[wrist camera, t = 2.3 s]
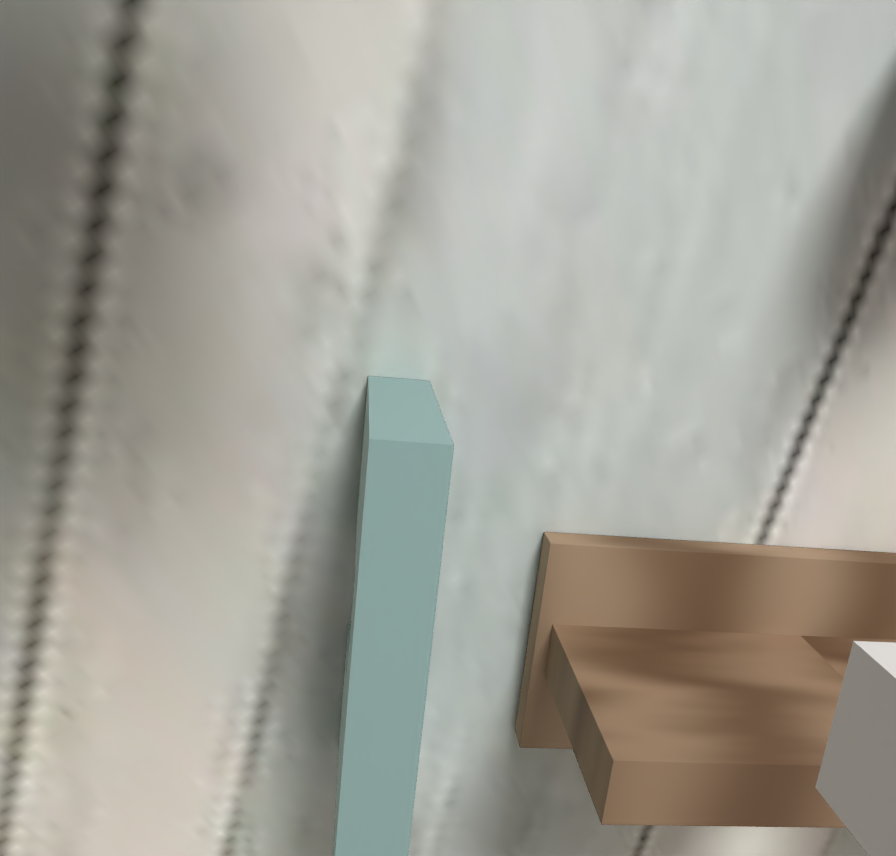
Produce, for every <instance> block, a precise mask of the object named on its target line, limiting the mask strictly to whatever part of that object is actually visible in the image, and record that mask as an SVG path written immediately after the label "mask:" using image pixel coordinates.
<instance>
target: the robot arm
mask: <svg viewBox="0 0 896 856" xmlns="http://www.w3.org/2000/svg"><path fill="white" fill-rule="evenodd" d="M815 788H816V789H817V790H818V791H819V793H820V794H821V795H822V797H823V798H824V799H825V800H826V802H827V803H828V804H829V806H830V807H831V808H832V810H833V811H834V812H835V813H836V815H837V816H838V817H839V819H840V820H841V821H842V822H843V824H844V825H845V826H846V828H847V829H848V830H849V831H850V833H851V834H852V835H853V837H854V838H855V839H856V840H857V842H858V843H859V844H860V846H861V847H862V848H863V849H864V851H865V852H866V853H867V855H868V856H896V643H893V642H867V641H853V644H852V648H851V652H850V656H849V660H848V664H847V668H846V671H845V675H844V679H843V683H842V687H841V691H840V695H839V698H838V702H837V706H836V710H835V714H834V718H833V721H832V725H831V729H830V733H829V737H828V741H827V745H826V748H825V752H824V756H823V760H822V764H821V768H820V772H819V775H818V779H817V783H816V787H815Z"/></svg>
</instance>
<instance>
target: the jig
mask: <svg viewBox="0 0 896 856" xmlns="http://www.w3.org/2000/svg"><path fill="white" fill-rule="evenodd" d="M853 641H867V642H893V643H896V553H886V552H869V551H853V550H836V549H819V548H803V547H786V546H770V545H753V544H736V543H720V542H703V541H687V540H670V539H653V538H637V537H620V536H604V535H587V534H570V533H554V532H544V536H543V543H542V549H541V556H540V563H539V570H538V577H537V583H536V590H535V597H534V604H533V610H532V617H531V624H530V631H529V638H528V644H527V651H526V658H525V665H524V672H523V678H522V685H521V692H520V699H519V705H518V712H517V719H516V726H515V732H516V735H517V739H518V742H519V746H520V747H524V748H563V749H573V751H574V753H575V756H576V759H577V761H578V764H579V767H580V769H581V772H582V774H583V777H584V780H585V782H586V785H587V788H588V790H589V793H590V795H591V798H592V801H593V803H594V806H595V809H596V811H597V814H598V816H599V819H600V822H601V824H604V825H680V826H756V827H832V828H846V826H845V825H844V824H843V822H842V821H841V820H840V819H839V817H838V816H837V815H836V813H835V812H834V811H833V810H832V808H831V807H830V806H829V804H828V803H827V802H826V800H825V799H824V798H823V797H822V795H821V794H820V793H819V791H818V790H817V789H816V788H815V787H816V783H817V779H818V775H819V772H820V768H821V764H822V760H823V756H824V752H825V748H826V745H827V741H828V737H829V733H830V729H831V725H832V721H833V718H834V714H835V710H836V706H837V702H838V698H839V695H840V691H841V687H842V683H843V679H844V675H845V671H846V668H847V664H848V660H849V656H850V652H851V648H852V644H853Z"/></svg>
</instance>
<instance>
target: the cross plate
mask: <svg viewBox="0 0 896 856" xmlns="http://www.w3.org/2000/svg"><path fill="white" fill-rule="evenodd" d="M453 450H454V443H453V441H452V438H451V435H450V433H449V430H448V428H447V425H446V422H445V420H444V417H443V414H442V412H441V409H440V406H439V404H438V401H437V398H436V396H435V393H434V390H433V388H432V385H431V382H430V381H424V380H412V379H400V378H388V377H375V376H368V386H367V398H366V410H365V423H364V435H363V448H362V460H361V473H360V485H359V497H358V510H357V522H356V556H355V579H354V591H353V603H352V615H351V624H348V634H347V647H346V659H345V672H344V684H343V696H342V709H341V721H340V734H339V746H338V765H337V785H336V805H335V825H334V845H333V856H408V852H409V843H410V835H411V826H412V817H413V808H414V799H415V790H416V781H417V772H418V763H419V754H420V745H421V736H422V727H423V718H424V709H425V700H426V692H427V683H428V674H429V665H430V656H431V647H432V638H433V629H434V620H435V611H436V602H437V593H438V584H439V575H440V566H441V558H442V549H443V540H444V531H445V522H446V513H447V504H448V495H449V486H450V477H451V468H452V459H453Z"/></svg>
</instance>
